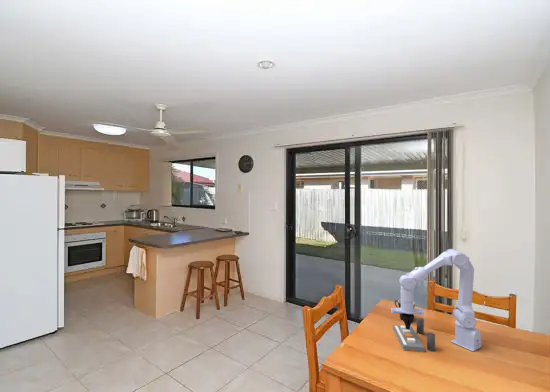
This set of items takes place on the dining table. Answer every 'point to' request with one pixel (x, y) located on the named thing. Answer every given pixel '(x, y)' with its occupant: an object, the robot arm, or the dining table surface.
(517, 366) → the dining table surface
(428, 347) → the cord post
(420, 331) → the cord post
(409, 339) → the breaker panel
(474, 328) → the robot arm
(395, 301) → the coffee mug
